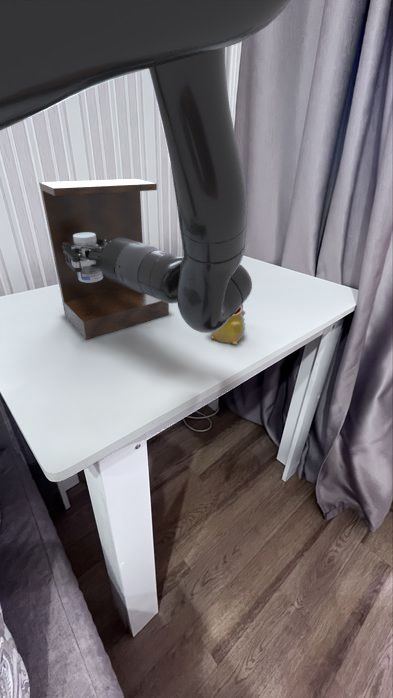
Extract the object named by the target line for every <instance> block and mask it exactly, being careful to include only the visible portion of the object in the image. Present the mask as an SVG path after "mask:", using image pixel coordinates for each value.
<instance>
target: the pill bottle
mask: <svg viewBox="0 0 393 698" xmlns="http://www.w3.org/2000/svg"><path fill="white" fill-rule="evenodd" d="M73 239H74V243H75V244H76V245H77V246H83V245H86V244H89V245H95V246H98V244H96V242H97V239H96V234H95V233H91V232H82V233H76V234H74V235H73ZM89 251H90V250H89ZM80 254H81V257H82V252H81V251H80ZM77 275H78V279H79V280H80V281H82V282H86V283H92V282H97V281H100V280H102V279H103V272H102V271H101V270H100V269H94V268H92V267H90V266H84V267H83V269H82V271H81V272H77Z"/></svg>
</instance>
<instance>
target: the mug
mask: <svg viewBox="0 0 393 698" xmlns="http://www.w3.org/2000/svg"><path fill="white" fill-rule="evenodd" d="M245 315H246V311H245V310H244V303H243V304H242V305H241V306H240V307H239V309H238V310H237V311H236V312H235V313H234V314H233V315H232V316H231V317H230V319H229V320H228V321H227V322H226V323H225V324H224V325H223V326H222V327H221V328H220V329H219V330H217V331H215V332H211V333H212V335H211V336H210V338H211V340H217V341H218V342H221V343H225V344H226V343H227V344H232V345H238V341H240V340H241V339H242V338H243V336H244V334H245V331H246V322H245V320H246V319H245V317H244V316H245Z"/></svg>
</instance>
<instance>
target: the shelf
mask: <svg viewBox="0 0 393 698" xmlns="http://www.w3.org/2000/svg"><path fill="white" fill-rule="evenodd" d="M39 189H40V194H41V200H42V205H43V211H44V215H45V220H46V225H47V230H48V235H49V240H50V245H51V250H52V251H51V252H52V255H53V256H52V257H53V261H54V266H55V270H56V276H57V281H58V286H59V291H60V292H59V293H60V297H61V301H62V307H63V311H64V316H65V318H66V319H67V320H68V321H69V323H71V325H73V327H74V328H75V329H76V330H77V331H78V332H79V333H80V334H81V336H82V337H83V338H84V339H85V340H89V339H92V338H96V337H99V336H103V335H105V334H110V333H113V332H115V331H119V330H122V329H125V328H129V327H133V326H135V325H139V324H142V323H143V324H144V323H146V322H149V321H152V320H156V319H159V318H162V317H166V316H169V314H170V303H166V302H163V301H161V300H159V299H157V298H154V297H152V296H150V295H147V294H143V293H139V292H136V291H134V290H131V289H129V288H127V287H124V286H122V285H120V284H117V283H115V282H113V281H111V280H109V279H108V278H107V277H106V276H105V275H104V273H103V279H102V280H100V281H97V282H92V283H86V282H82V281H80V280H79V279H78V275H77V272H75V271H74V270H73V269H72V268H71V267H70V266H69V265H68V264H67V263H66V257H65V254H64V253H63V247H62V245H63V242H70V243H73V244H75V243H74V239H73V235H74V234H76V233H82V232H91V233H95V234H96V238H98V239H101V240H103V239H108V240H112V239H113V238H119V237H123V238H127V239H130V240H134V241H137V242H140V243H144V242H143V223H142V221H143V219H142V201H141V199H142V197H141V192H150V191H151V192H152V191H158V184H157V183H155V182H151V181H147V180H143V179H138V178H126V179H123V178H122V179H98V180H97V179H96V180H71V181H69V180H68V181H46V182H45V181H44V182H39ZM75 245H76V244H75Z"/></svg>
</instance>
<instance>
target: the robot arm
mask: <svg viewBox="0 0 393 698" xmlns="http://www.w3.org/2000/svg"><path fill="white" fill-rule="evenodd" d="M291 2H292V0H0V132H1V131H2V130H5V129H7V128H9V127H12V126H14V125H16V124H19V123H21V122H23V121H25V120H27V119H29V118H31V117H34V116H36V115H37V114H40V113H42V112H44V111H46V110H49V109H50V108H52V107H54V106H56V105H58V104H60V103H62V102H64V101H66V100H67V99H69V98H71V97H74V96H76V95H78V94H81V93H84V91H87V90H89V89H92V88H94V87H96V86H99V85H102V84H105V83H108V82H110V81H113V80H117V79H119V78H122V77H125V76H127V75H131V74H134V73H138V72H142V71H145V70H148V71H149V72H148V73H149V75H150V79H151V84H152V89H153V91H154V92H153V93H154V96H155V100H156V104H157V108H158V112H159V117H160V121H161V126H162V130H163V136H164V139H165V145H166V149H167V154H168V160H169V165H170V170H171V171H170V172H171V177H172V181H173V188H174V195H175V196H174V197H175V203H176V210H177V218H178V223H179V232H180V239H181V240H180V241H181V246H182V247H181V248H182V253H183V254H182V255H181V256H179V255H176V254H173V253H170V252H166V251H164V250H160V249H158V248H157V247H154V246H153V245H150V244H147V243H144V242H143V243H140V242H137V241H134V240H130V239H127V238H123V237H119V238H113V239H112V240H108V239H103V240H101V239H98V238H96V239H97V242H96V244H98V246H95V245H89V244H86V245H83V246H77V245H75V244H73V243H70V242H63V245H62V247H63V253H64V254H65V257H66V263H67V264H68V265H69V266H70V267H71V268H72V269H73V270H74V271H75V272H81V271H82V269H83V267H84V266H90V267H92V268H94V269H100V270H101V271H102V272H103V273H104V275H105V276H106V277H107V278H108V279H109V280H111V281H113V282H115V283H117V284H120V285H122V286H124V287H127V288H129V289H131V290H134V291H136V292H139V293H143V294H147V295H150V296H152V297H154V298H157V299H159V300H161V301H163V302H166V303H169V304H177V307H178V311H179V314H180V315H181V318H182V320H183V321H184V322H185V323H186V324H187V326H189V327H190V329H192V330H194V331H196V332H199V333H202V334H211V333H212V332H215V331H217V330H219V329H220V328H221V327H222V326H223V325H224V324H225V323H226V322H227V321H228V320H229V319H230V317H231V316H232V315H233V314H234V313H235V312H236V311H237V310H238V309H239V307H240V306H241V305H242V304H243V305H244V303H245V302H246V301H247V300H248V298H249V297H250V295H251V293H252V289H253V281H252V277H251V275H250V273H249V272H248V270H247V269H246V268H245V267H244V266H243V265H242V264H241V263H242V261H243V258H244V254H245V249H246V236H247V224H248V223H247V222H248V194H247V193H248V192H247V185H246V178H245V172H244V167H243V163H242V158H241V154H240V149H239V146H238V142H237V137H236V136H237V135H236V132H235V128H234V124H233V117H232V111H231V107H230V98H229V92H228V84H227V83H228V82H227V69H226V48H228V47H231V46H234V45H237V44H240V43H242V42H244V41H246V40H248V39H251V38H252V37H253V36H256V34H258V33H259V32H261V31H262V30H264V29H265V28H266V27H268V26H269V25H270V24H272V22H274V21H275V20H276V19H277V18H278V17H279V16H280V15H281V13H282V12H283V11H284V10H285V9H286V8H287V7H288V5H289V4H290V3H291ZM89 250H90V251H89ZM80 251H81V252H82V257H81V254H80Z"/></svg>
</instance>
